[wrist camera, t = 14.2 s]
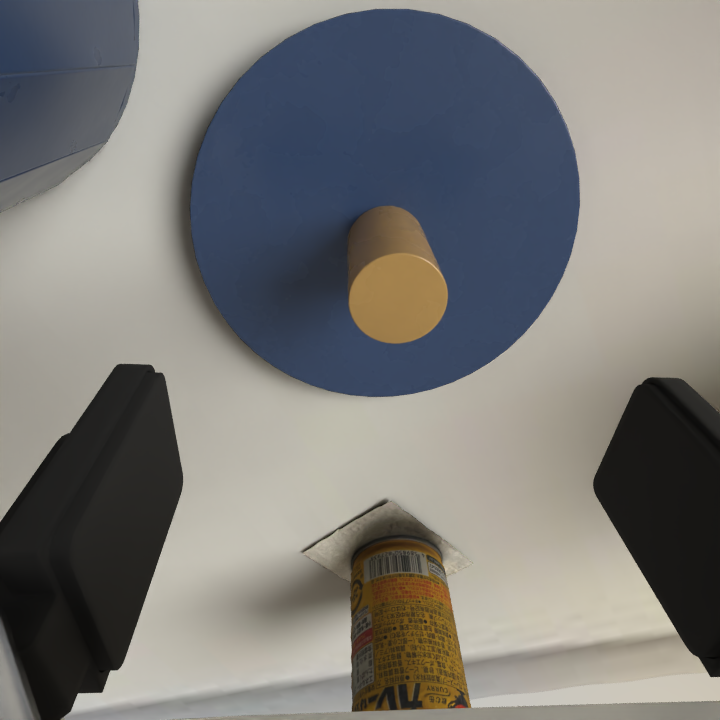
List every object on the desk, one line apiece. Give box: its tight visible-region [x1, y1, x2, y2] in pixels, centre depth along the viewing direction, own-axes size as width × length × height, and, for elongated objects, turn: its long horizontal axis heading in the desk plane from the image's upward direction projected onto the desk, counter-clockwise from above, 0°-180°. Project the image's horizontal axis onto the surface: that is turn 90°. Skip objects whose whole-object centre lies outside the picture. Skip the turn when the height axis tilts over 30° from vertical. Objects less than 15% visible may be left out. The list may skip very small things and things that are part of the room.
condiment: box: [303, 501, 473, 712], centre depth 26 cm, size 7×8×12 cm
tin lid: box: [190, 9, 580, 397], centre depth 17 cm, size 15×15×6 cm
